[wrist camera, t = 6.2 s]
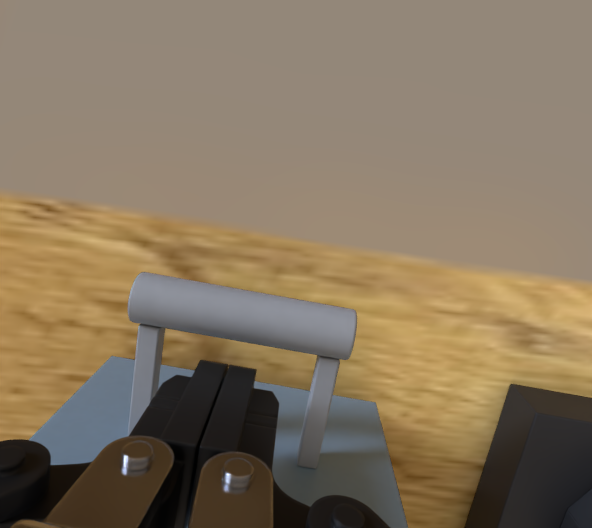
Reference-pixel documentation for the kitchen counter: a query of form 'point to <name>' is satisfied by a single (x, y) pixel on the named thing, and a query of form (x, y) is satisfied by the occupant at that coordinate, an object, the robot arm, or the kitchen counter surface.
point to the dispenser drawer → (292, 402)
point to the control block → (537, 464)
